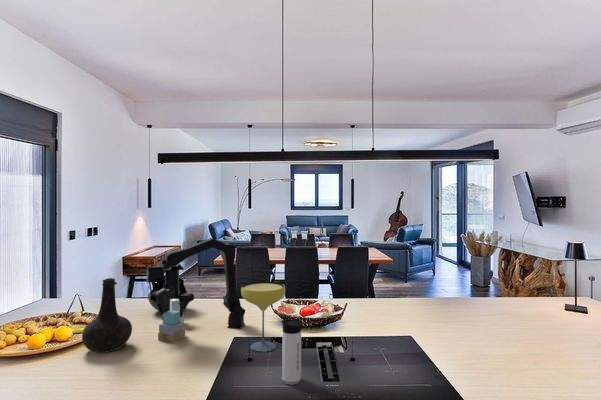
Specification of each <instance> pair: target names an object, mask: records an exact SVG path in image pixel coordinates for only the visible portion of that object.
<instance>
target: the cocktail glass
mask: <svg viewBox="0 0 601 400" xmlns="http://www.w3.org/2000/svg"><path fill="white" fill-rule="evenodd" d="M240 293H241V297H242V298H243V299H244V300H245V301H246V302H248V303H250V304H252V305H255V306H256V307H258V308H259V310H260V311H261V312H262V314H261V315H262V319H261V320H262V322H261V324H262V326H261V327H262V329H261V333H262V334H261V341H257V342H253V343H252V345H251V344H250V345H251V346H250V345H249V348H250V347H251V349H252V350H253V349H254V350H256V351H263V352H262V353H268V352H267V351H269V352H272V351H274V350H275V349H276V348H277V344H275V343H274V342H271V341H266V340H265V311H266V310H267V309H268V307H270V306H271V305H273V304H275V303H276V304H277V302H279V301H280V300H282V299H283V298H284V297H285V295H286V286H285V284H283V283H281V282H277V281H276V282H275V281H252V282H247V283H245V284H242V286H241V288H240ZM251 349H250V350H251ZM273 349H274V350H273ZM252 350H251V351H252ZM271 350H272V351H271Z"/></svg>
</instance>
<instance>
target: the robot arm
mask: <svg viewBox="0 0 601 400" xmlns="http://www.w3.org/2000/svg"><path fill="white" fill-rule="evenodd" d="M212 248H213V249H214V250H215V249H216V250H217V251H219V253H220V256H221V258H222V261H223V263H224V276H225V286H226V287H225V288H226V294H225V295H223V296H222V300H223V303H222V305H224V307H225V308H226V309H227V310H228V312H229V313H228V318H227V321H228V323H227V328H229V329H235V330H237V329H238V330H240V329H242V328H243V327H245V325H246V323H245V319H244V318H245V317H244V316H245V314H246V310H245V308H244V307H243V306H241V301H240V300H241V299H240V297H239V295H238V293H237V286H236V275H235V274H236V273H235V264H234V263H235V259H236V254H237V253H236V252H237V248H236V246H234V244H230V243H227V242H225V243H224V242H221V241H219V240H217V239H215V238H212V237H209V238H207V239H205V240H203V241H200V242H198V243H195V244H192V245H190V246H188V247H185V248H181V249H174V250H169V251H168V252H166V253H165V255H164V258H163V260H162V261H161V263H160V264H159V265H155V266H152V265H151V266H147V267H146V268H147V269H146V274H145V276H146V283H147V284H149V283H157V282H161V281H162V280H163V279H164V276H165V283H164V284H163V288H162V289H161V290H160V291H156V292H153V293H151V295H150V300H152V301H153V302H155V303H156V304H157V305H158V307H159V310H160V311H159V312H160V315H161V316H162V317H163V313H165V302H167V301H168V299H179V301H180V303H179V305H180V317H182V316H183V314H184V315H185V312H186V309H187V307H188V305H189V304H190V303H191V302H192V301H194V300H195V294H194V293H193V292H187V293H184V294H182V295H179V294H180V293H181V291H179V284H181V282H179V278H180V271H182V270H185V269H184V267H183V266H182V265H181V263H182V262H184V261H185V260H186V259H188V258H190V257H192V256H195V255H197V254H199V253H203V252H204V251H208V250H209V249H212ZM174 296H175V297H174Z"/></svg>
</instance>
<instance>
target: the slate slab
mask: <svg viewBox="0 0 601 400" xmlns="http://www.w3.org/2000/svg"><path fill="white" fill-rule="evenodd" d="M183 329H184V324H183V322H182V321H180V322H178V323H176V324H174V325H168V324H163V322H162V323H160V324H159V325H158V333H162V334H169V335H174V334H176V333H178V332H180V331H181V330H183Z"/></svg>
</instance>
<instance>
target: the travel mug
mask: <svg viewBox="0 0 601 400" xmlns="http://www.w3.org/2000/svg"><path fill="white" fill-rule="evenodd" d="M281 325H282V347H281V348H282V349H281V352H282V356H281V357H282V361H281V363H282V365H281V366H282V368H281V371H282V372H281V373H282V374H281V376H282V377H281V379H282V380H281V381H282V383H283V382H284V384H285V385H287V384H289V385H288V386H295V385H294V384H296V385H298V384H300V383H301V382H300V381H302V323H301V321H299V320H296V319H281ZM299 382H300V383H299Z"/></svg>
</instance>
